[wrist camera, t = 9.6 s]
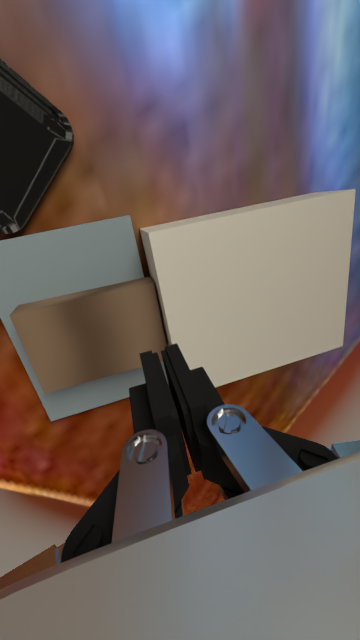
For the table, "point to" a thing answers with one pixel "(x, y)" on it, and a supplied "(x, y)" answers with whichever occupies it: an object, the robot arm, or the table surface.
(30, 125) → the phone
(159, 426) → the robot arm
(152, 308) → the walnut tile
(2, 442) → the table surface
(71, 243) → the mat
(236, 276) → the riser
